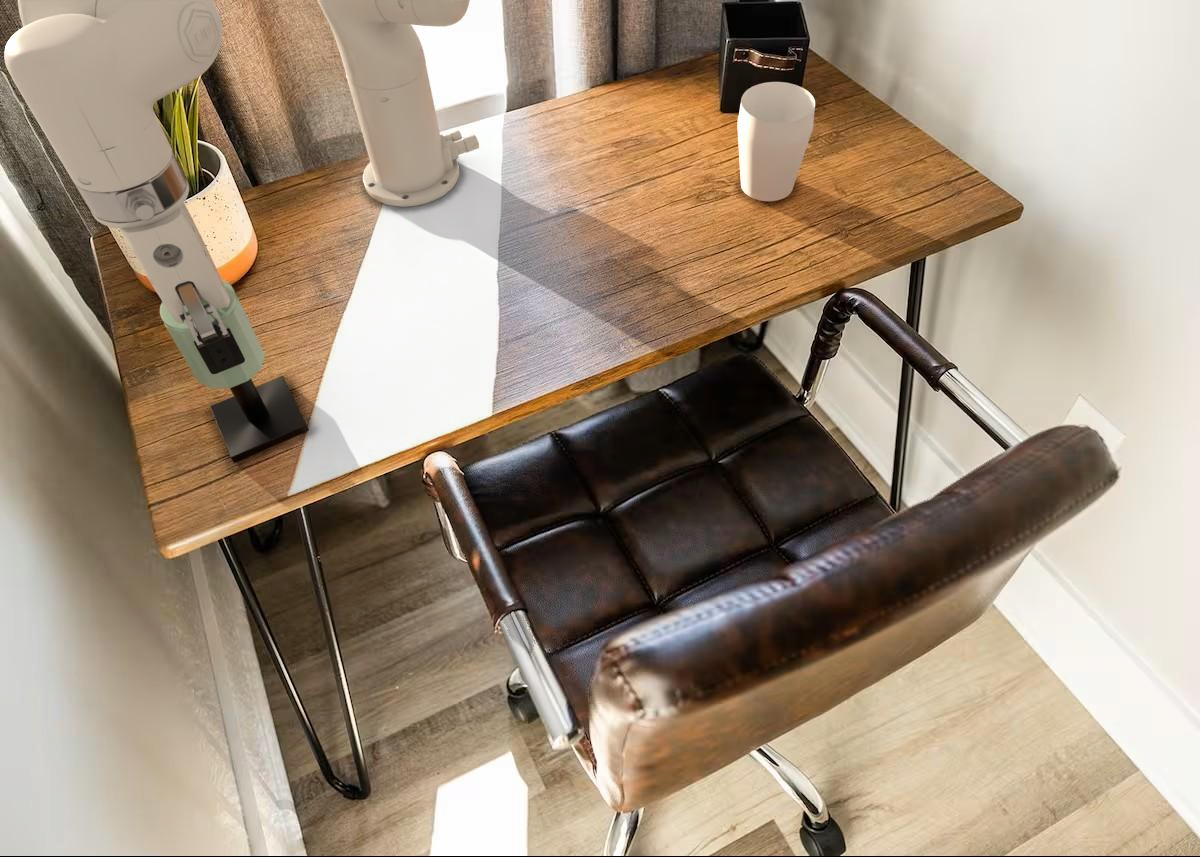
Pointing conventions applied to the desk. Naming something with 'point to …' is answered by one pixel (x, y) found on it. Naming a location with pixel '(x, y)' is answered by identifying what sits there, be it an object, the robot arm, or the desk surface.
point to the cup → (773, 138)
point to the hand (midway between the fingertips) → (216, 340)
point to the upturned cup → (242, 334)
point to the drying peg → (258, 418)
